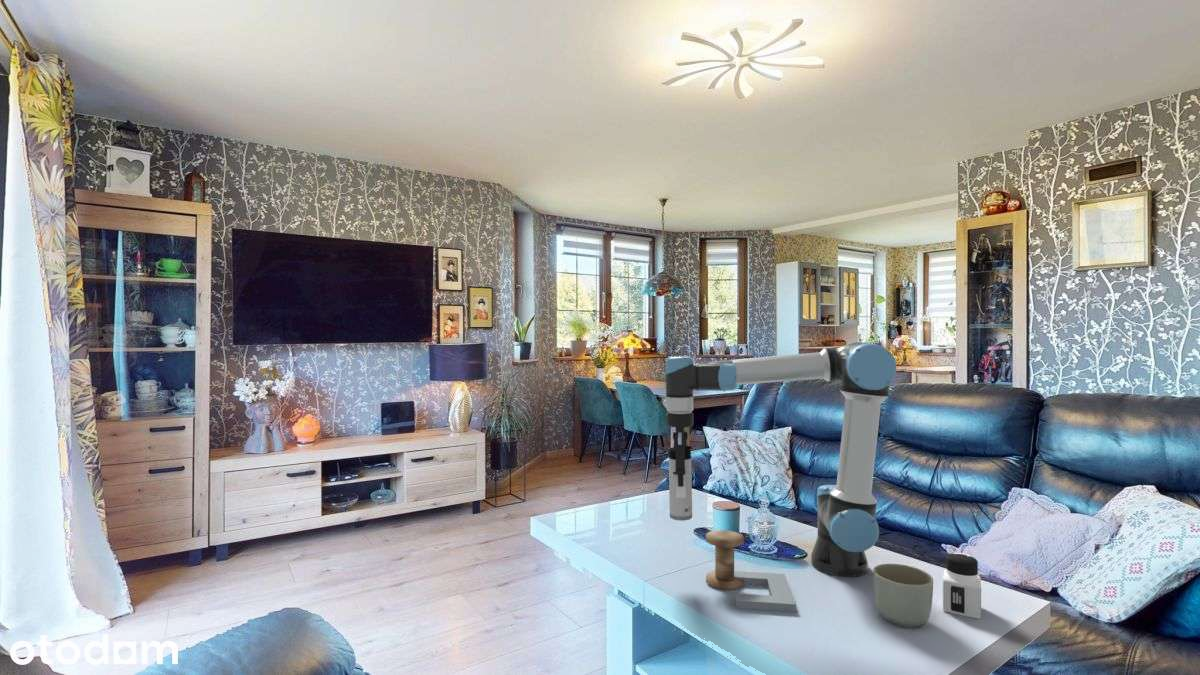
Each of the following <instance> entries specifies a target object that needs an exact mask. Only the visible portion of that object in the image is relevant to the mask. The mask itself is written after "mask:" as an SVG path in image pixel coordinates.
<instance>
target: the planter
mask: <svg viewBox="0 0 1200 675" xmlns="http://www.w3.org/2000/svg"><path fill="white" fill-rule="evenodd" d="M872 573H873V587H874V588H873V589H874V599H875V604H876V608H877V611H878V612H879V614H880V615H881V616H882V617H883V618H884V619H885V620H887V621H888V622H890V623H892V624H893V625H896V626H899V627H902V628H917V627H920V626H923V625H925V624H926V623H927V622H928V621H929V619H930V617H931V612H932V605H933V594H934V578H933V576H932V575H931V574H930V573H929V572H926V571H925V570H922V569H920V568H917V567H914V566H910V565H906V564H899V563H883V564H877V565H876V566H875V567H874V568H873V572H872Z"/></svg>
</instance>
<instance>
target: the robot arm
mask: <svg viewBox="0 0 1200 675" xmlns="http://www.w3.org/2000/svg"><path fill="white" fill-rule="evenodd" d="M897 366H898V365H897V361H896V359H895V357H894V356H893V354H892V353H891V351H889V349H887V348H886V347H884V346H882V345H881V344H878V343H874V342H851V343H848V344H844V345H840V346H834V347H833V346H832V347H828V348H827V347H825V348H822V350H821V351H820V352H819V351H818V352H810V353H809V352H807V353H796V354H786V355H785V354H784V355H774V356H762V357H750V358H739V359H738V358H737V359H731V360H730V359H729V360H711V361H708V362H707V363H695V362H694V361H693V357H691V356H670V357H667V358H666V360H665V373H664V374H665V396H666V397H665V399H664V401H663V403H664V404H666V408H665V409H666V411H667V413H666V426H667V427H670V428H675V431H673V432H672V439H673V447H674V449H675V455H676V470H675V472H673V474H675V475H676V498H686V474H685V449H686V448H687V446H688V443H687V442H688V431H686V430H685V428H690V427H693V426H694V424H695V421H694V418H695V417H694V413H693V411H694V408H695V407H694V391H695V392H696V391H705V392H706V391H711V392H712V391H717V392H721V391H723V392H727V391H735V390H736V389H737V387H738V385H749V384H750V385H751V384H752V385H753V384H764V383H767V384H769V383H780V382H781V383H782V382H792V381H794V382H795V381H805V380H821V379H823V380H825V381H826V382H840V387H839V388H840V389H839V392H840V393H841V394H842V395H843V397H844V398H845V401H844V410H843V419H842V420H843V421H842V429H841V437H840V438H841V439H840V440H841V441H840V447H839V448H840V449H839V450H840V451H839V458H838V466H837V467H838V468H837V477H836V478H837V479H836V484H825V485H824V484H823V485H820V486H818V488H817V494H816V499H817V502H816V503H817V505H816V506H817V508H816V509H817V537H816V541H815V543H814V546H813V548H812V552H811V555H810V559H811V560H810V563H811V566H813V567H814V568H815V569H816V570H819V571H821V572H824V573H826V574H830V575H834V576H838V577H858V576H859V577H860V576H863V575H865V574H867V573H868V571H869V562H868V558H867V556H866V553H865V551H868V550H870V548H872V547H874V545H875V544H876V543H877V541H878V540H879V537H880V536H879V535H880V528H879V524H878V521H877V520H876V517H877V516H876V513H877V505H878V500H877V498H876V497H875V496H874V495H873V493H872V492H873V491H872V490H873V481H874V471H875V463H876V462H875V461H876V454H877V453H876V452H877V443H878V434H879V426H880V425H879V424H880V416H881V409H882V408H881V405H882V403H883V401H885V400H886V399H888V398H889V392H890V386H891V383H892V382H893V381H894V379H895V377H896V374H897V370H898V369H897Z"/></svg>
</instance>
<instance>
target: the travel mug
mask: <svg viewBox="0 0 1200 675" xmlns="http://www.w3.org/2000/svg"><path fill="white" fill-rule="evenodd" d="M692 450H693V446H692V445H687V448H686V449H685V474H686V498H676V475H675V474H673V472H675V470H676V455H675V449H674V446H673V447H670V448H669V449H668V484H669V485H668V487H669V489H668V490H669V492H668V496H669V518H670V519H672V520H673V521H674V520H675V521H680V522H681V521H683V522H684V521H688V520H691V519H692V518H693V485H692V484H693V482H692V481H693V480H692V478H693V476H692V453H691V451H692Z"/></svg>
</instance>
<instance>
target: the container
mask: <svg viewBox="0 0 1200 675" xmlns="http://www.w3.org/2000/svg"><path fill="white" fill-rule="evenodd" d="M945 557H946V558H945V569H944V570H943V577H942V611H943V612H945V613H949V614H955V615H959V616H963V617H968V618H974V619H976V620H977V619H978V620H981V619H982V580H981V575H979V561H978V560H977V559H976V558H975V557H974V556H972V555H969V554H967V553H962V552H952V553H948V554H947V555H946V556H945Z"/></svg>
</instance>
